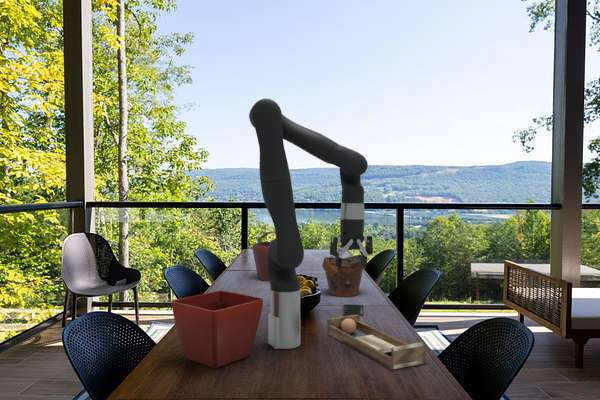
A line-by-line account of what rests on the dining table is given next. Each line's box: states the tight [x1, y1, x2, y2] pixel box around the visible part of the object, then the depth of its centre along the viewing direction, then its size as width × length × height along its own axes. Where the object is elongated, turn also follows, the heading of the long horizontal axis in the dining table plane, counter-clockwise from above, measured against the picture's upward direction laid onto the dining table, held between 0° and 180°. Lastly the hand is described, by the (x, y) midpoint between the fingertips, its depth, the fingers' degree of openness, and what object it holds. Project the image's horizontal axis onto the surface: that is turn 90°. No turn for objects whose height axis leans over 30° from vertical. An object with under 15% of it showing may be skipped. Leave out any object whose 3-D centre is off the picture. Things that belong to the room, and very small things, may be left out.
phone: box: [342, 303, 364, 318], centre depth 189 cm, size 8×1×15 cm
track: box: [326, 315, 427, 371], centre depth 146 cm, size 12×35×6 cm, turn 25°
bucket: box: [252, 230, 276, 283], centre depth 255 cm, size 24×22×25 cm
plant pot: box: [171, 290, 264, 369], centre depth 137 cm, size 19×19×17 cm
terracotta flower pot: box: [322, 254, 364, 298], centre depth 219 cm, size 18×20×18 cm
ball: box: [341, 318, 356, 334], centre depth 159 cm, size 5×5×5 cm
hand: (351, 268), depth 151 cm, fingers open, 8 cm apart
